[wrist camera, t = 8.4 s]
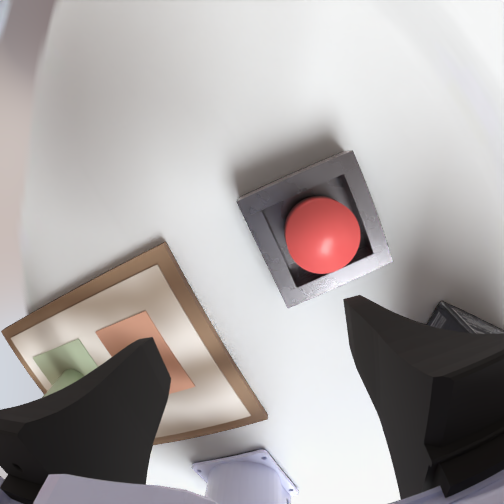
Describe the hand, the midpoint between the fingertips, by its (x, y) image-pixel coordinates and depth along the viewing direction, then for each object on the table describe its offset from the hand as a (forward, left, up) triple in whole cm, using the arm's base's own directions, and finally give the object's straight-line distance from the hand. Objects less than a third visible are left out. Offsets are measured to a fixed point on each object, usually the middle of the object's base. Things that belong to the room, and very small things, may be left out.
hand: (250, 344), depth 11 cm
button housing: (+1, -4, -10) cm, 11 cm away
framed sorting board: (-4, +15, -10) cm, 18 cm away
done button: (+1, -4, -8) cm, 9 cm away
